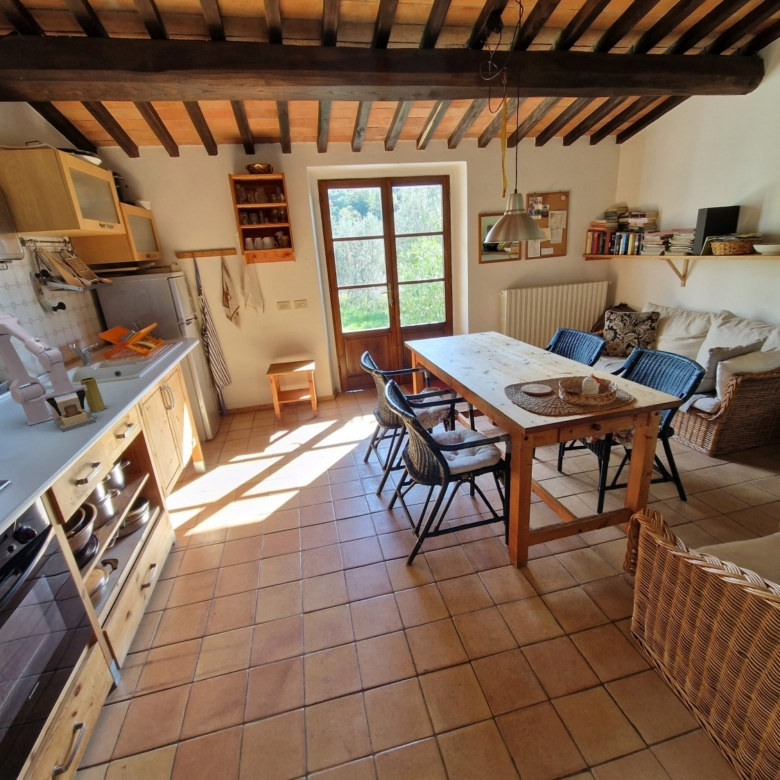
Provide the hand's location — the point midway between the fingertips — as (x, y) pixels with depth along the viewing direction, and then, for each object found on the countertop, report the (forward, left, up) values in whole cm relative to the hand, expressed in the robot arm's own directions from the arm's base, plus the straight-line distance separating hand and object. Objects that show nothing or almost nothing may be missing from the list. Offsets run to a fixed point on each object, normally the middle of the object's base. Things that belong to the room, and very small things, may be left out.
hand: (71, 412), depth 164 cm
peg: (0, 0, -3) cm, 4 cm away
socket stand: (-2, 0, -5) cm, 5 cm away
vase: (-10, +10, -5) cm, 15 cm away
